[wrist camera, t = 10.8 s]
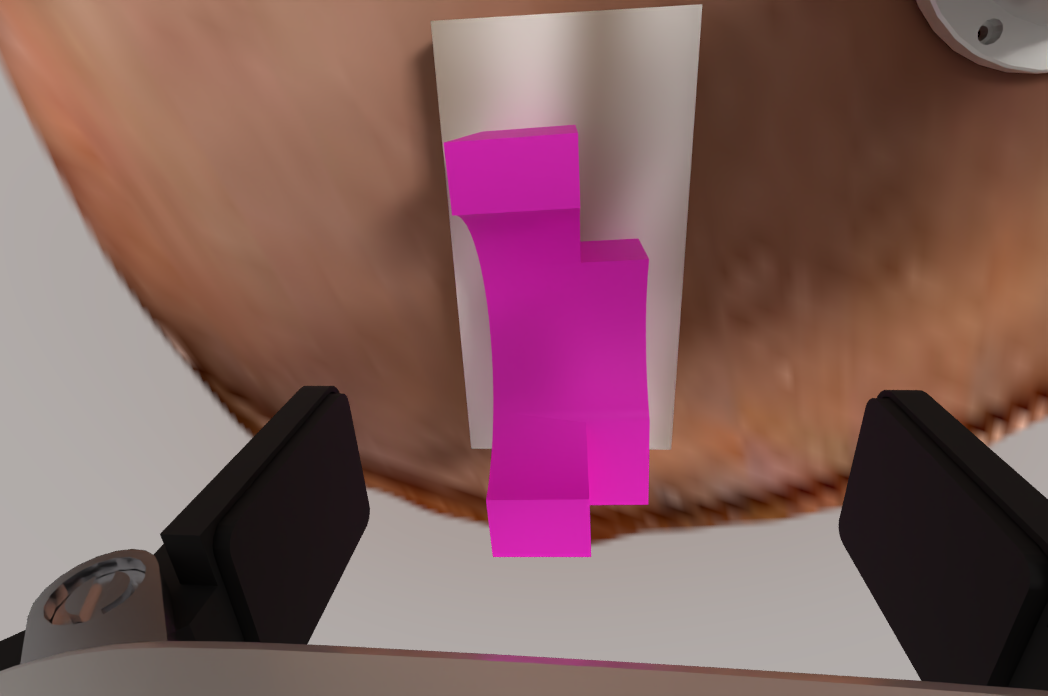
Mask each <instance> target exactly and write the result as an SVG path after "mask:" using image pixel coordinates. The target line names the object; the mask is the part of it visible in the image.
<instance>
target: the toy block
mask: <svg viewBox="0 0 1048 696" xmlns="http://www.w3.org/2000/svg"><path fill="white" fill-rule="evenodd" d="M443 144H444V152H445V161H446V169H447V177H448V186H449V194H450V202H451V211H452V216H455V215H456V216H458V217H460V218H461V219H462V220H463V221H464V223H465V224H466V225H467V227H468V229H469V231H470V233H471V236H472V239H473V241H474V244H475V247H476V251H477V254H478V258H479V262H480V267H481V271H482V276H483V281H484V287H485V293H486V300H487V308H488V316H489V326H490V337H491V350H492V368H493V436H492V454H491V466H490V476H489V484H488V492H487V498H486V503H487V511H488V520H489V528H490V536H491V544H492V552H493V557H591V536H590V505H648V489H649V438H650V417H649V404H648V387H647V364H646V302H647V281H648V268H649V258H648V256H647V254H646V252H645V250H644V248H643V246H642V244H641V242H640V240H639V239H620V240H601V241H583V242H580V180H579V148H578V131H577V128H576V125H564V126H550V127H537V128H523V129H510V130H496V131H483V132H478V133H475V134H472V135H468V136H465V137H461V138H458V139H454V140H451V141H447V142H444V143H443Z"/></svg>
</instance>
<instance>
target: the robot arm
mask: <svg viewBox="0 0 1048 696" xmlns="http://www.w3.org/2000/svg"><path fill="white" fill-rule="evenodd" d="M916 2H917V5H918V7H919V8H920V10H921V12H922V13H923V15H924V17H925V18H926V20H927V21H928V23H929V25H930V26H931V28H932V30H933V31H934V32H935V33H936V34H937V35H938V36H939V37H940V38H941V39H942V40H943V41H944V42H945V43H946V44H947V45H948V46H949V47H950V48H951V49H953V50H954V51H955V52H957V53H959V54H960V55H962V56H964V57H966V58H968V59H969V60H971V61H973V62H975V63H976V64H978V65H982V66H985V67H989V68H992V69H996V70H1000V71H1003V72H1010V73H1030V74H1041V73H1048V0H916ZM979 29H980V36H979V38H978V31H979ZM369 514H370V507H369V501H368V496H367V491H366V486H365V481H364V476H363V471H362V466H361V461H360V456H359V451H358V446H357V441H356V436H355V431H354V426H353V421H352V416H351V411H350V406H349V401H348V398H347V396H346V395H345V394H340V393H339V391H338V389H337V388H336V387H334V386H303V387H302V388H300V390H299V391H298V392H297V393H296V394H295V395H294V396H293V397H292V398H291V399H290V400H289V401H288V402H287V403H286V404H285V405H284V406H283V407H282V408H281V409H280V410H279V411H278V412H277V413H276V414H275V415H274V416H273V418H272V419H271V420H270V421H269V422H268V423H267V424H266V425H265V426H264V427H263V428H262V429H261V430H260V431H259V432H258V433H257V434H256V435H255V436H254V437H253V438H252V439H251V440H250V441H249V442H248V443H247V444H246V446H245V447H244V448H243V449H242V450H241V451H240V452H239V453H238V454H237V455H236V456H235V457H234V458H233V459H232V460H231V461H230V462H229V463H228V464H227V465H226V466H225V467H224V468H223V469H222V470H221V471H220V473H219V474H218V475H217V476H216V477H215V478H214V479H213V480H212V481H211V482H210V483H209V484H208V485H207V486H206V487H205V488H204V489H203V490H202V491H201V492H200V493H199V494H198V495H197V496H196V497H195V498H194V499H193V500H192V501H191V503H190V504H189V505H188V506H187V507H186V508H185V509H184V510H183V511H182V512H181V513H180V514H179V515H178V516H177V517H176V518H175V519H174V520H173V521H172V522H171V523H170V525H168V526H167V527H166V528H165V530H164V531H163V532H162V533H161V534H160V535H161V538H162V540H163V543H164V544H163V545H162V546H161V547H160V548H159V550H157V552H156V553H155V554H154V555H153V554H151V553H149V552H147V551H145V550H136V549H128V550H120V551H115V552H111V553H108V554H104V555H101V556H98V557H95V558H93V559H91V560H89V561H86V562H84V563H82V564H80V565H78V566H76V567H74V568H73V569H71V570H70V571H68V572H67V573H65V574H63V575H62V576H60V577H59V578H58V579H56V580H55V581H54V582H53V583H52V584H51V585H49V586H48V587H47V588H46V589H45V590H44V591H43V592H42V593H41V594H40V596H39V597H38V598H37V599H36V600H35V602H34V603H33V605H32V607H31V610H30V612H29V615H28V619H27V625H26V630H24V631H22V632H20V633H18V634H15V635H13V636H11V637H9V638H7V639H4V640H2V641H0V696H1048V499H1046V497H1044V496H1043V495H1042V494H1041V493H1040V492H1039V491H1037V490H1036V489H1035V488H1034V487H1033V486H1032V485H1031V484H1029V483H1028V482H1027V481H1026V480H1025V479H1024V478H1023V477H1022V476H1020V475H1019V474H1018V473H1017V472H1016V471H1015V470H1014V469H1012V468H1011V467H1010V466H1009V465H1008V464H1007V463H1006V462H1004V461H1003V460H1002V459H1001V458H1000V457H999V456H998V455H997V454H995V453H994V452H993V451H992V450H991V449H990V448H989V447H987V446H986V445H985V444H984V443H983V442H982V441H981V440H979V439H978V438H977V437H976V436H975V435H974V434H973V433H971V432H970V431H969V430H968V429H967V428H966V427H965V426H963V425H962V424H961V423H960V422H959V421H958V420H957V419H955V418H954V417H953V416H952V415H951V414H950V413H949V412H948V411H946V410H945V409H944V408H943V407H942V406H941V405H940V404H938V403H937V402H936V401H935V400H934V399H933V398H932V397H930V396H929V395H928V394H927V393H925V392H924V391H921V390H884V391H882V392H880V394H879V395H878V396H877V398H872V399H870V400H869V401H868V403H867V405H866V408H865V412H864V417H863V421H862V425H861V429H860V434H859V438H858V442H857V446H856V450H855V455H854V459H853V463H852V467H851V472H850V476H849V480H848V484H847V489H846V493H845V497H844V501H843V506H842V510H841V514H840V518H839V534H840V537H841V540H842V542H843V545H844V546H845V548H846V550H847V552H848V553H849V555H850V557H851V559H852V560H853V562H854V564H855V566H856V567H857V569H858V571H859V573H860V574H861V576H862V578H863V580H864V581H865V583H866V585H867V586H868V588H869V590H870V592H871V593H872V595H873V597H874V599H875V600H876V602H877V604H878V606H879V607H880V609H881V611H882V613H883V614H884V616H885V618H886V620H887V621H888V623H889V625H890V627H891V628H892V630H893V631H894V634H895V635H896V637H897V639H898V641H899V642H900V644H901V646H902V648H903V649H904V651H905V653H906V654H907V656H908V658H909V660H910V661H911V663H912V665H913V667H914V668H915V670H916V672H917V673H918V676H919V677H920V679H921V681H913V680H898V679H884V678H868V677H853V676H837V675H823V674H807V673H792V672H777V671H762V670H746V669H730V668H715V667H699V666H682V665H665V664H648V663H632V662H616V661H598V660H582V659H564V658H547V657H530V656H514V655H513V656H512V655H497V654H478V653H459V652H441V651H440V652H439V651H422V650H403V649H384V648H366V647H347V646H328V645H307V644H308V642H309V640H310V638H311V636H312V634H313V632H314V630H315V627H316V626H317V624H318V622H319V619H320V618H321V616H322V614H323V612H324V610H325V608H326V606H327V604H328V602H329V600H330V598H331V596H332V594H333V592H334V590H335V588H336V586H337V584H338V582H339V580H340V578H341V576H342V574H343V572H344V570H345V568H346V566H347V564H348V562H349V560H350V558H351V556H352V554H353V552H354V550H355V548H356V546H357V544H358V542H359V540H360V538H361V536H362V535H363V533H364V531H365V529H366V526H367V524H368V520H369Z"/></svg>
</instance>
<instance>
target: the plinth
mask: <svg viewBox="0 0 1048 696" xmlns="http://www.w3.org/2000/svg"><path fill="white" fill-rule="evenodd" d="M701 17H702V4H698V5H682V6H666V7H649V8H633V9H617V10H601V11H585V12H568V13H552V14H536V15H520V16H504V17H487V18H471V19H455V20H439V21H431V30H432V40H433V51H434V61H435V72H436V82H437V93H438V103H439V114H440V124H441V135H442V145H443V156H444V166H445V177H446V187H447V198H448V208H449V219H450V230H451V240H452V251H453V261H454V272H455V282H456V293H457V303H458V314H459V324H460V335H461V345H462V356H463V366H464V377H465V387H466V398H467V408H468V419H469V429H470V440H471V449H492V436H493V368H492V350H491V337H490V326H489V316H488V308H487V300H486V293H485V287H484V281H483V276H482V271H481V267H480V262H479V258H478V254H477V251H476V247H475V244H474V241H473V239H472V236H471V233H470V231H469V229H468V227H467V225H466V224H465V223H464V221H463V220H462V219H461V218H460V217H458V216H456V215H455V216H452V211H451V202H450V194H449V186H448V177H447V169H446V161H445V152H444V144H443V143H444V142H447V141H451V140H454V139H458V138H461V137H465V136H468V135H472V134H475V133H478V132H483V131H496V130H510V129H523V128H537V127H550V126H564V125H576V128H577V131H578V148H579V180H580V242H583V241H601V240H620V239H639V240H640V242H641V244H642V246H643V248H644V250H645V252H646V254H647V256H648V258H649V268H648V281H647V302H646V364H647V387H648V404H649V417H650V438H649V449H660V450H671V443H672V429H673V415H674V401H675V386H676V372H677V358H678V344H679V330H680V315H681V301H682V287H683V273H684V259H685V245H686V230H687V216H688V202H689V188H690V174H691V159H692V145H693V131H694V117H695V103H696V88H697V74H698V60H699V46H700V32H701Z"/></svg>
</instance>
